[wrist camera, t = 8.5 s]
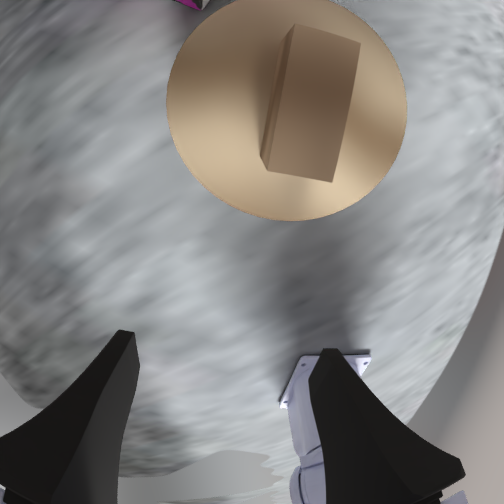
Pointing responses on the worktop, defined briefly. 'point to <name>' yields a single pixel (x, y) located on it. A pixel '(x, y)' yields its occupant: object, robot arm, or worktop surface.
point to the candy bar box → (194, 3)
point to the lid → (286, 107)
